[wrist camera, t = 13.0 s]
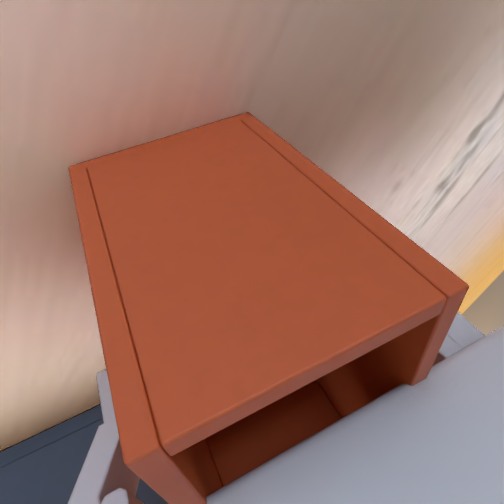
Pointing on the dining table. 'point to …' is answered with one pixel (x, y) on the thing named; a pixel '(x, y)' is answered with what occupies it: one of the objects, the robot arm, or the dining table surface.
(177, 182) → the tote
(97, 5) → the dining table surface
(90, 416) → the outer bin
